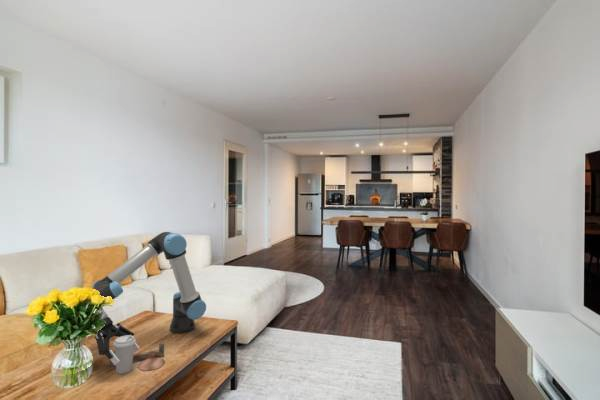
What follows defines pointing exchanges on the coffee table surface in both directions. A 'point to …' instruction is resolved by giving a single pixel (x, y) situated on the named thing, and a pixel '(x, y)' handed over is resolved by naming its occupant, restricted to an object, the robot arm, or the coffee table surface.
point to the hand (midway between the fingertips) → (127, 356)
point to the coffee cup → (124, 353)
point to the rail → (149, 359)
